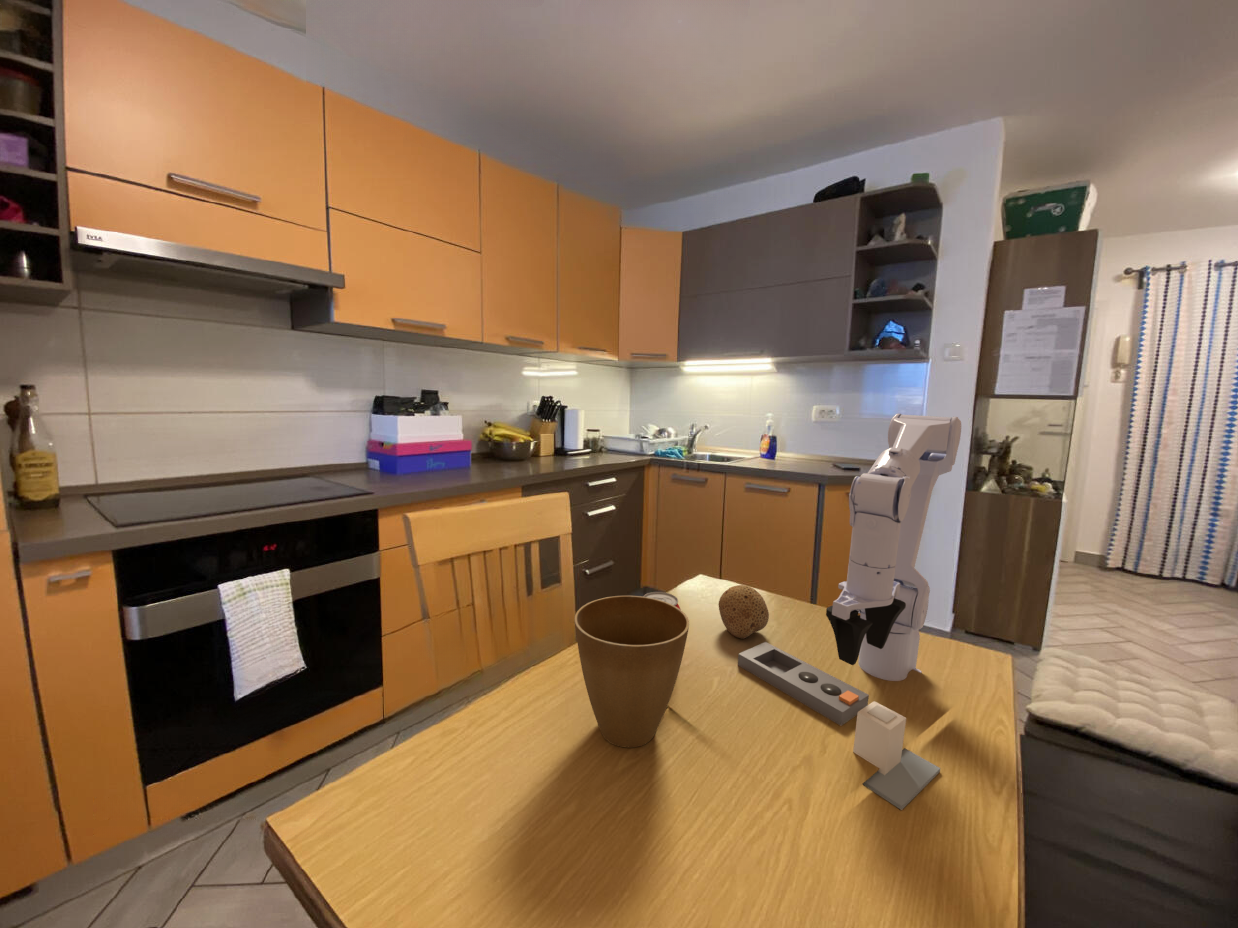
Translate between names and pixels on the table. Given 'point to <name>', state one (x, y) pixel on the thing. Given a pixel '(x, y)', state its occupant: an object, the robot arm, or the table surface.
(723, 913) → the table surface
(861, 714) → the block
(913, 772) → the mat
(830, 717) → the power strip
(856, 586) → the robot arm
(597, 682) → the plant pot
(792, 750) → the table surface
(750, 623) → the natural sponge
